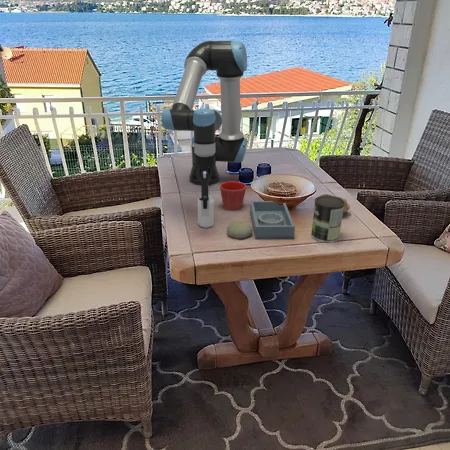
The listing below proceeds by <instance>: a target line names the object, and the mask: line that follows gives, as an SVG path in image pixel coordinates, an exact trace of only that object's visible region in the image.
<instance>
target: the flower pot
mask: <svg viewBox="0 0 450 450" xmlns="http://www.w3.org/2000/svg"><path fill="white" fill-rule="evenodd" d="M219 188H220V190H219V191H220V194H221V196H220V197H221V200H222V205H223V208H224V209H226V210H228V211H237V210H240V209H242V206H243V204H244V199H245V194H246V190H247V185H246V184H245V183H243V182H240V181H233V180H231V181H230V180H229V181H225V182H222V183H221V184H220V185H219Z"/></svg>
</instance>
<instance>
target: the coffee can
mask: <svg viewBox="0 0 450 450" xmlns="http://www.w3.org/2000/svg"><path fill="white" fill-rule="evenodd" d="M338 197H339V196H336V197H335V195H332V196H321V195H319V196H317V197H315V199H314V207H313V216H312V227H311V233H310V235H311V238H313V239H314V240H315V241H317V242H321V243H326V244H327V243H334V242H337V241H339V240H340V236H341V235H340V234H341V229H342V228H341V227H342V220H343V214H344V213H343V208H344V204H345V202H344V200H342V199H343V198H342V197H340V198H338ZM341 198H342V199H341Z"/></svg>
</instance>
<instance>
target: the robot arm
mask: <svg viewBox="0 0 450 450" xmlns="http://www.w3.org/2000/svg"><path fill="white" fill-rule="evenodd" d="M183 65H184V66H183V67H184V70H183V74H182V77H181V80H180V83H179V85H178V89H177V91H176V94H175V97H174V100H173V103H172V106H171V108H166V109H164V110H162V113H161V124H162V127H163V128H164V129H165V130H170V131H184V132H185V131H187V132H188V131H190V132H193V137H192V138H191V145H190V146H191V159H192V160H191V161H192V163H191V165H192V166H191V170H190V174H189V175H188V176H189V182H190V183H191V184H193V185H197V186H201V188H200V189H201V192H200V195H201V198H199V197H198V199H199V200H201V211H202V217H204V216H209V198H208V194H209V195H210V187H211V186H212V185H215V184H217V183H219V182H220V173H219V170H218V168H217V162H225V163H233V164H234V163H242V162H244V159H245V158H246V157H245V156H246V153H247V147H248V138H246V137H245V136H244V132H243V131H241V78H242V77H243V76H244V73H245V72H246V71H247V69H248V55H247V49H246V46H245V44H244V43H243V41H241V40H240V41H236V40H207V41H203V42H200V43H199V44H197V45H196V46H195V47H193V49H191V50H190V52H189V53H188V54H187V56H186V58H185V61H184V63H183ZM207 71H215V72H216V77H217V78H218V80H219V83H220V84H219V85H220V105H221V107H220V109H221V112H220V111H219V110H217V109H213V108H198V109H194V110H193V107H194V105H195V104H194V103H195V101H196V98H197V94H198V91H199V88H200V86H201V82H202V78H203V76H205V75H206V73H207ZM220 128H221V132H220V133H219V134H218V136H217V135H216V131H218V130H219V129H220Z"/></svg>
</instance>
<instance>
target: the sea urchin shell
mask: <svg viewBox="0 0 450 450" xmlns="http://www.w3.org/2000/svg"><path fill="white" fill-rule="evenodd" d="M226 233H227V235H228V236H229V237H231V238H234V239H239V240H241V239H245V238H247V237H250V236H251V235H252V233H253V226H251V224H250V223H248V222H246V221H244V220H236V221H232V222H231V223H229V224H228V225H227V227H226Z"/></svg>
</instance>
